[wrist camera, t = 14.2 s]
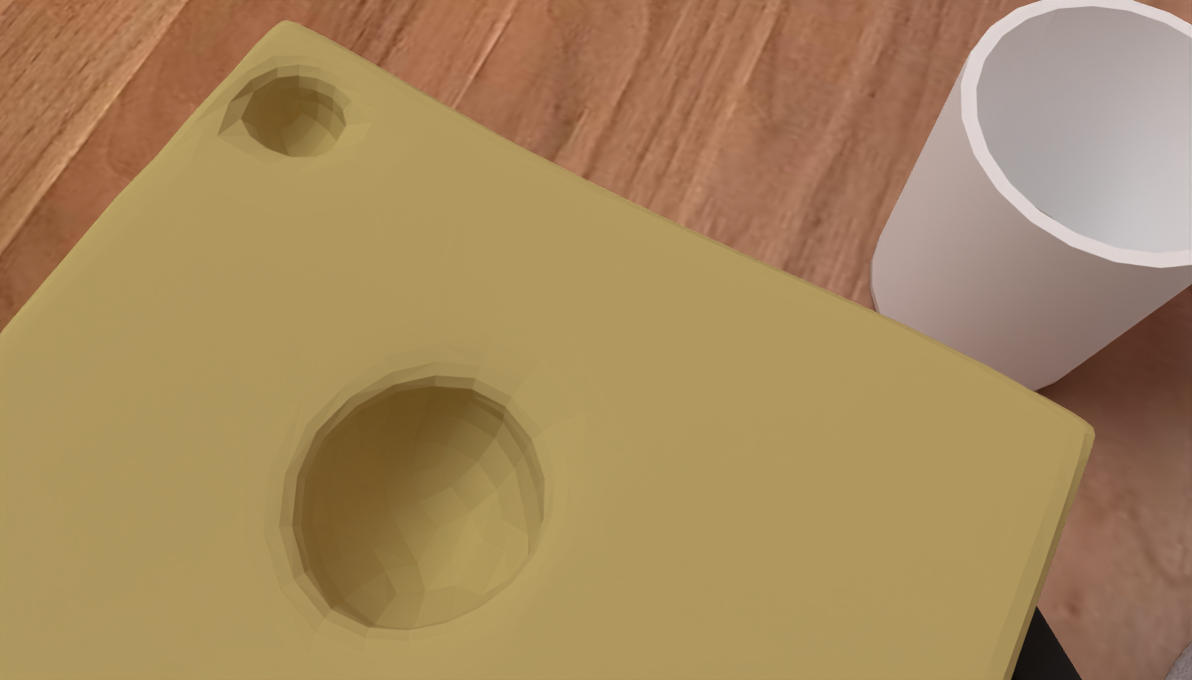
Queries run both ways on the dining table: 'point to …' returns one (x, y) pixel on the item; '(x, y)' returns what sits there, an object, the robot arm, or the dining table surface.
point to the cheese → (485, 428)
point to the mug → (1049, 191)
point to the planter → (1182, 666)
